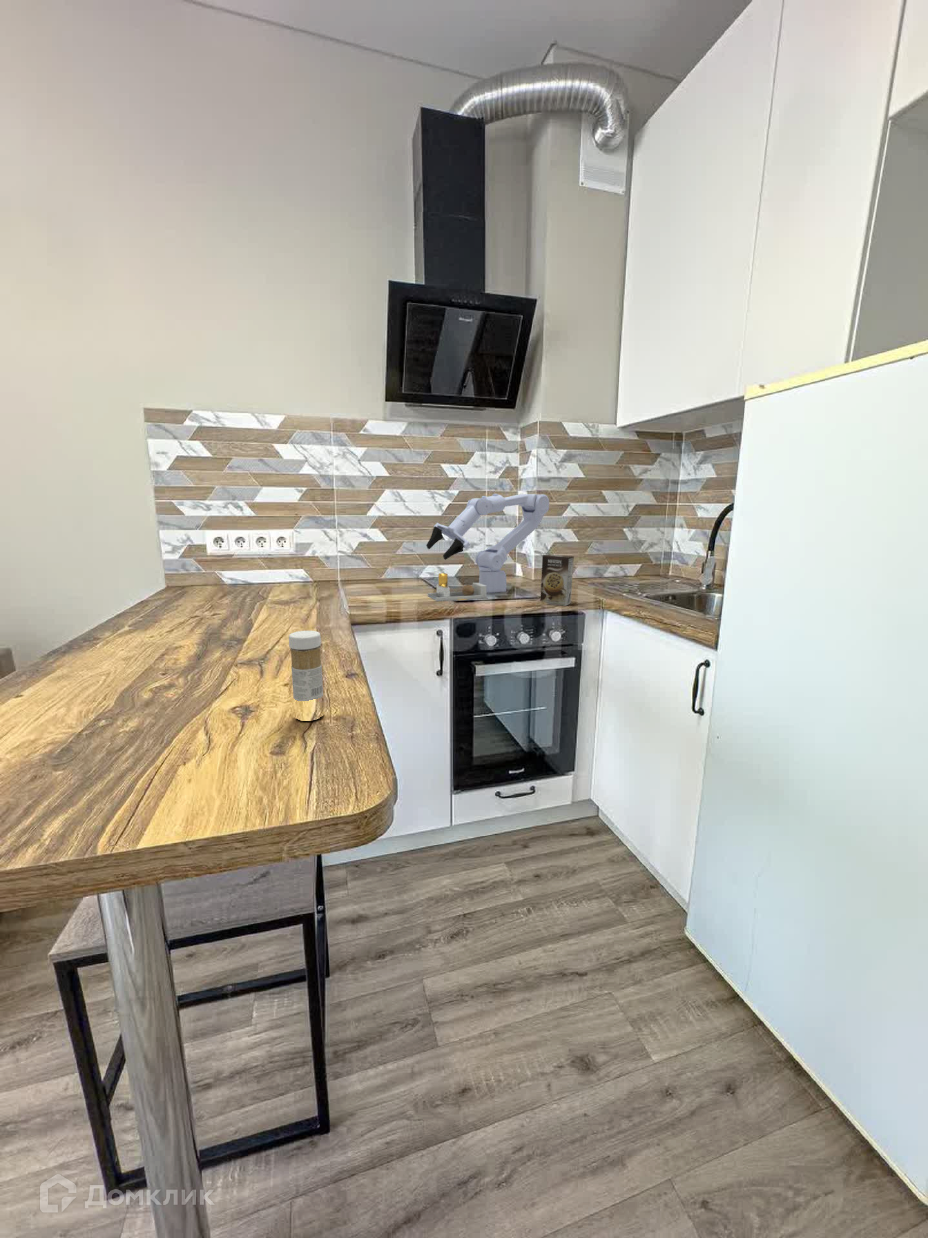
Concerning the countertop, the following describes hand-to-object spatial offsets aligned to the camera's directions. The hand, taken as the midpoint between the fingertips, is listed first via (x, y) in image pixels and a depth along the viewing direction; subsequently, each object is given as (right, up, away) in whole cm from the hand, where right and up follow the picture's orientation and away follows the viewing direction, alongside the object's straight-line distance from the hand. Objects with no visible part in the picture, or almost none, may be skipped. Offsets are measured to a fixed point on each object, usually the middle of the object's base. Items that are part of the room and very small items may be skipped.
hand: (435, 552), depth 176 cm
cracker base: (+7, -16, +1) cm, 18 cm away
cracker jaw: (+2, -15, -1) cm, 15 cm away
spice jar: (-14, -38, -95) cm, 103 cm away
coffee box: (+40, -17, 0) cm, 44 cm away
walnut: (+11, -15, +2) cm, 18 cm away
